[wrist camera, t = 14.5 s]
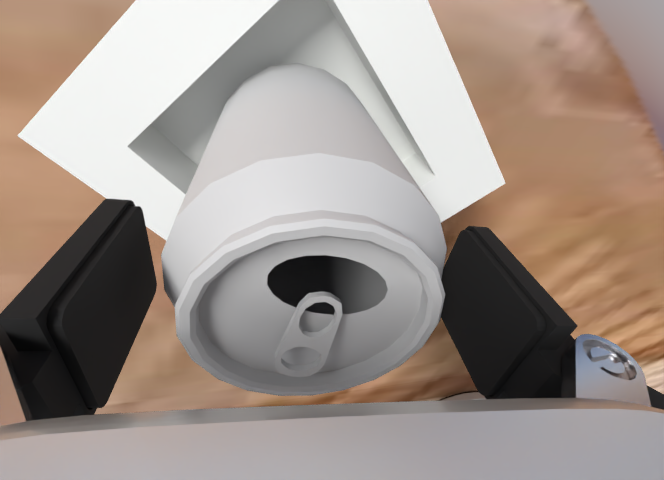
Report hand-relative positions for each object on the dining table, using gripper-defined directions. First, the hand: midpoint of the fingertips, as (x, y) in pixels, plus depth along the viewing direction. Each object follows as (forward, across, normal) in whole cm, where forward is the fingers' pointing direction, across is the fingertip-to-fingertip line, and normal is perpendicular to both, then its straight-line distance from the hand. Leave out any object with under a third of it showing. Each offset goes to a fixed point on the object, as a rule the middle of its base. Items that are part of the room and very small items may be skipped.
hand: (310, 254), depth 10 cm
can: (+9, 0, 0) cm, 9 cm away
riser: (+12, 0, 0) cm, 12 cm away
